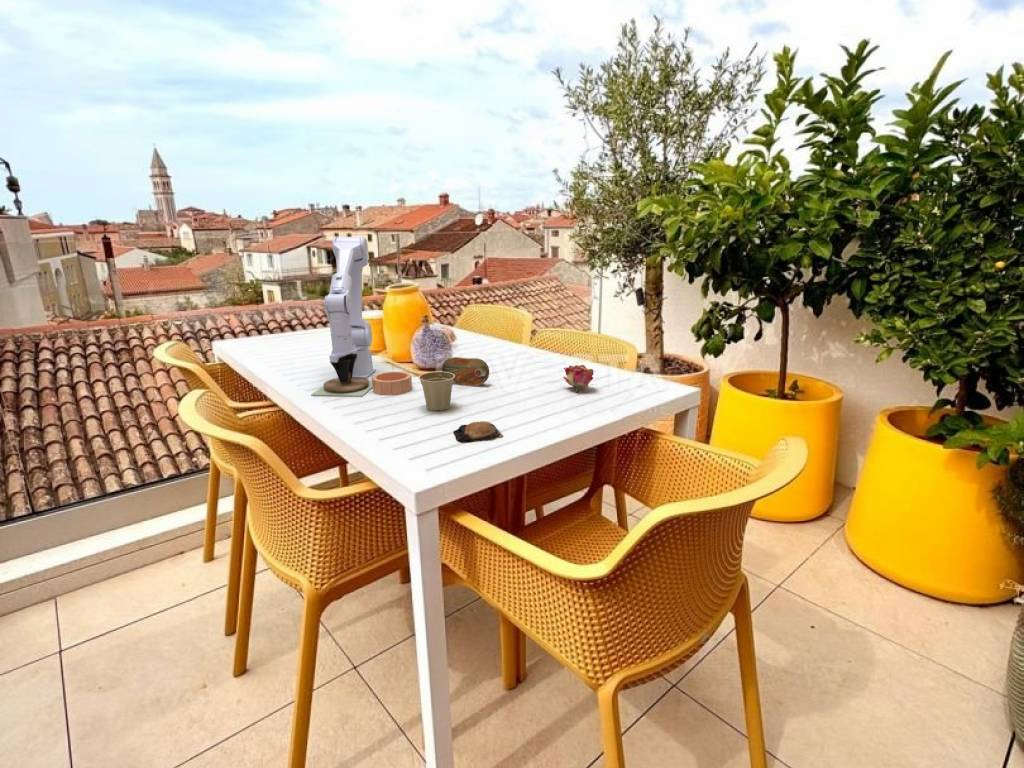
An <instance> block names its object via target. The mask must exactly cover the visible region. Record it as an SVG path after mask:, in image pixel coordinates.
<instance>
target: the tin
mask: <svg viewBox="0 0 1024 768" xmlns="http://www.w3.org/2000/svg"><path fill="white" fill-rule="evenodd" d="M441 371H442V372H449V373H453V374H454V375H455V378H454V380H453V383H452V385H458V386H470V387H479V386H482V385H483V384H485V383H486V381H488V379H489V377H490V367H489V365H488V364H487V362H486V361H485V360H483V359H481V358H477V357H476V358H475V357H461V356H454V357H450V358H447V359H446V360H445V361H444V362H443V364H442V366H441Z"/></svg>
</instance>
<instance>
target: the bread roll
mask: <svg viewBox="0 0 1024 768" xmlns="http://www.w3.org/2000/svg"><path fill="white" fill-rule="evenodd" d="M452 434H453V435H454V437H455V440H456V442H458V443H460V444H469V443H470V444H471V443H479V442H484V441H485V442H486V441H493V440H497V439H502V438H504V435H503V433H502V432H501V431H500V430H499V429H498V428H497V427H496V426H495V425H494V424H493V423H492V422H489V421H485V420H483V421H474V422H470V423H468V424H461V425H459V427H458V428H457V429H455V430H453V432H452Z"/></svg>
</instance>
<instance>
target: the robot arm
mask: <svg viewBox="0 0 1024 768" xmlns="http://www.w3.org/2000/svg"><path fill="white" fill-rule="evenodd" d="M331 243H332V244H331V247H332V252H333V254H334V256H335V259H336V261H337V266H336V273H333V274H332V276H331V280H330V281H331V282H330V286H329V292H328V294H327V295H325V296H324V301H323V303H324V304H323V305H324V309H325V313H326V317H327V320H328V322H329V331H330V339H331V347H332V351H331V354H330V355H329V364H331V366H332V367H333V368H334V371H335V372H336V376H337V378H339V381H340V382H347V381H348V372H351V379H352V377H363V378H366V379H368V378H369V377H370V376H371V375H372V374H373V373H374V372H376V371H377V370H376V369H374V367H373V357H372V355H373V354H372V351H371V349H370V348H371V346H372V344H373V332H372V326H371V324H370V323H369V321H367V320H365V319H364V318H363V270H364V267H366V266H367V265H368V264H369V263H368V261H369V247H368V241H367V238H366V237H365V236H364V235H363V236H333V239H332V242H331Z"/></svg>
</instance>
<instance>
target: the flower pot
mask: <svg viewBox="0 0 1024 768" xmlns="http://www.w3.org/2000/svg"><path fill="white" fill-rule="evenodd" d="M454 378H455V375H454V374H453V373H449V372H442V370H441V371H430V372H424V373H422V374H420V375H419V376H418V380H420V384H421V387H422V389H423V394H424V400H425V405H426V409H428V410H431V411H434V412H435V411H438V410H439V411H444V410H448V409H449V408H450V407H451V399H452V389H453V384H452V383H453V380H454Z"/></svg>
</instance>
